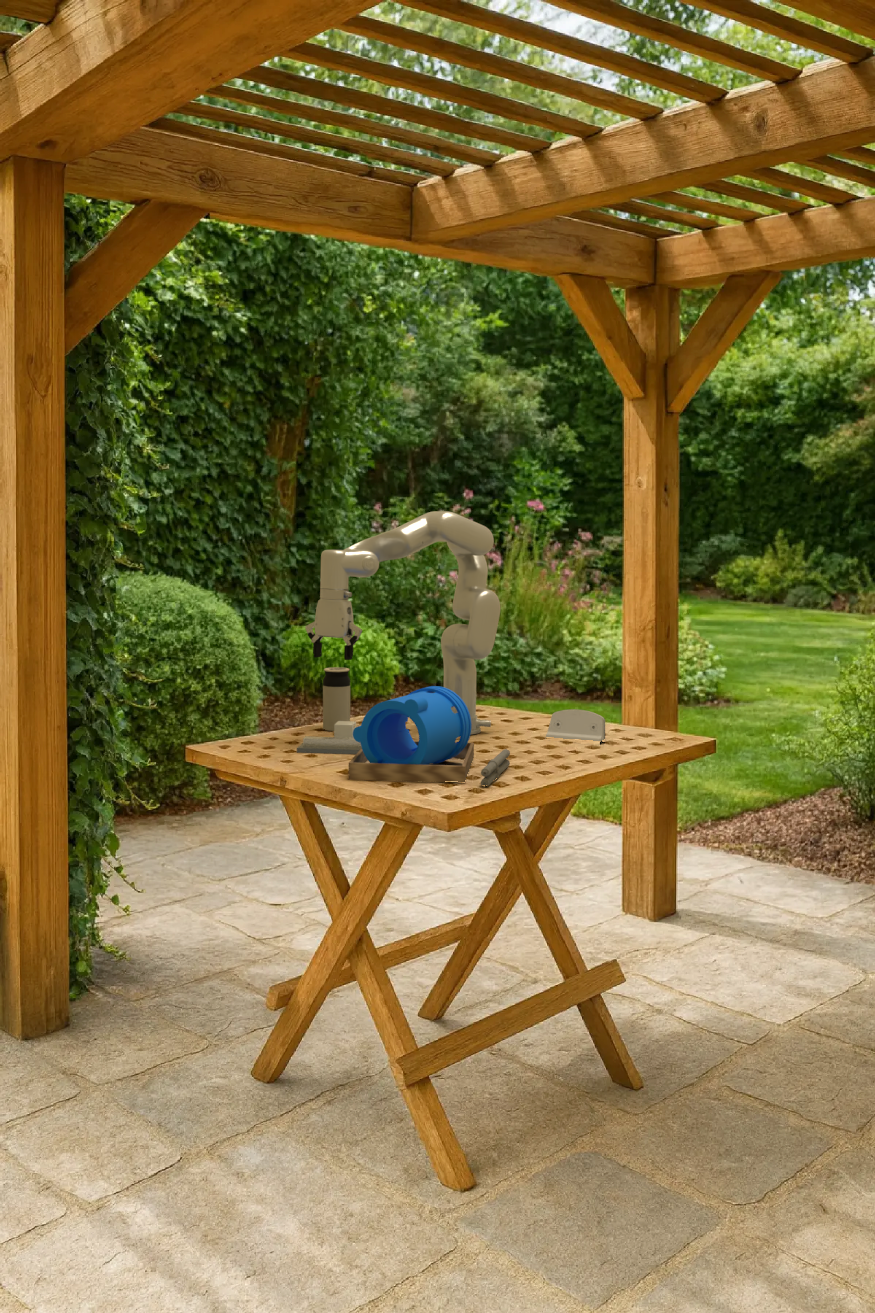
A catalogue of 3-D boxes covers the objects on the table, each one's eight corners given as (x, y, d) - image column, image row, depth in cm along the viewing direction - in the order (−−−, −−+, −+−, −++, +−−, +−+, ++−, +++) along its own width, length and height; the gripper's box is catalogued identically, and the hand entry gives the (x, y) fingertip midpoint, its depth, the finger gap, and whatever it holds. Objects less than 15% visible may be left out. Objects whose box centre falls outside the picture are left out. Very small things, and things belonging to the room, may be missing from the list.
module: (356, 740, 338) (356, 721, 337) (352, 744, 331) (352, 725, 331) (338, 740, 338) (338, 721, 338) (334, 744, 332) (334, 724, 331)
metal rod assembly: (500, 767, 304) (500, 747, 303) (511, 768, 303) (511, 748, 303) (478, 788, 279) (478, 767, 278) (490, 789, 278) (490, 767, 278)
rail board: (384, 748, 327) (384, 736, 326) (379, 754, 317) (379, 742, 317) (304, 745, 329) (304, 734, 328) (296, 752, 319) (296, 740, 319)
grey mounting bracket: (543, 740, 342) (548, 705, 344) (548, 743, 346) (553, 709, 348) (601, 745, 335) (605, 710, 337) (605, 748, 339) (609, 713, 341)
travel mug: (355, 729, 357) (355, 668, 355) (340, 732, 350) (340, 671, 348) (332, 726, 361) (333, 666, 359) (317, 730, 354) (317, 669, 352)
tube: (445, 779, 310) (388, 736, 316) (487, 710, 303) (427, 667, 309) (402, 798, 287) (341, 751, 293) (446, 724, 281) (383, 677, 287)
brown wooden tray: (473, 757, 314) (473, 742, 314) (465, 783, 283) (465, 766, 283) (368, 754, 317) (368, 739, 317) (348, 779, 286) (348, 763, 285)
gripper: (368, 596, 327) (367, 659, 328) (314, 593, 334) (313, 655, 336) (355, 597, 320) (353, 661, 321) (299, 594, 327) (298, 657, 329)
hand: (332, 658), depth 329 cm, fingers open, 9 cm apart
